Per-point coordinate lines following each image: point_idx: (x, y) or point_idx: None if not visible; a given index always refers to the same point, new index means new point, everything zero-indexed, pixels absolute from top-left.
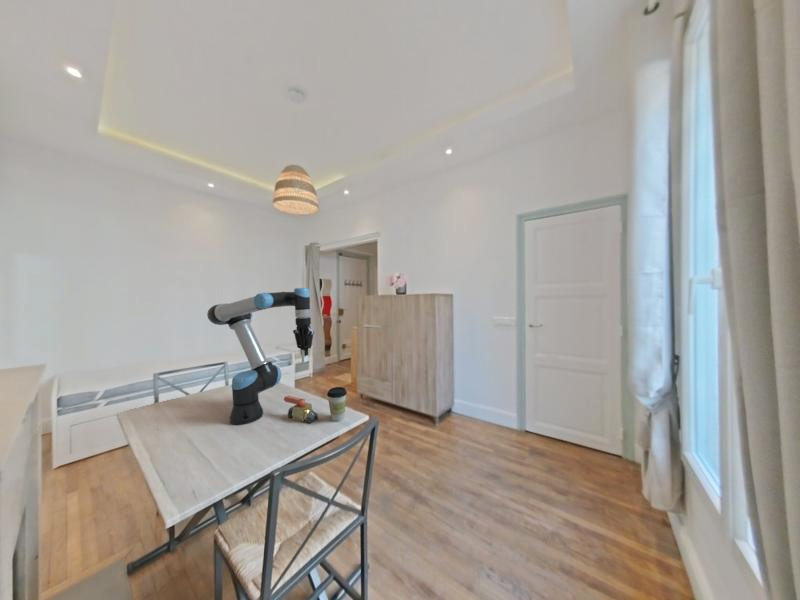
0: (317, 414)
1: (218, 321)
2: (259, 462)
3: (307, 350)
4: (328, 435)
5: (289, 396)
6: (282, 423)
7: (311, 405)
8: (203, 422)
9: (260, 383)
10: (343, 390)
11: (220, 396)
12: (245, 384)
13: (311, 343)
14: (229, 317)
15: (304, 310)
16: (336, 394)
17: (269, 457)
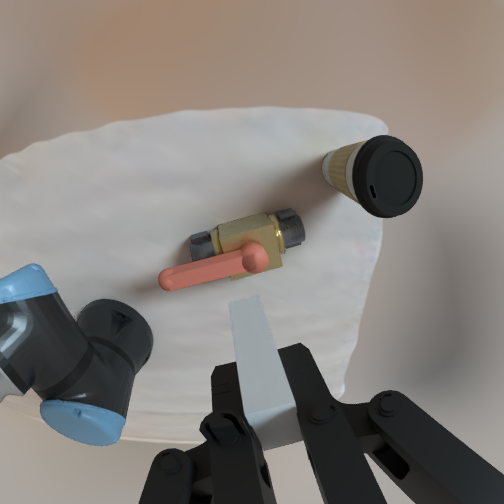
0: (294, 212)
1: None
2: (328, 366)
3: (328, 397)
4: (378, 242)
5: (177, 277)
6: (223, 291)
7: (272, 223)
8: None
9: (96, 376)
10: (417, 167)
11: None
12: (122, 426)
13: (451, 439)
14: None
15: None
16: (412, 204)
17: (331, 353)
